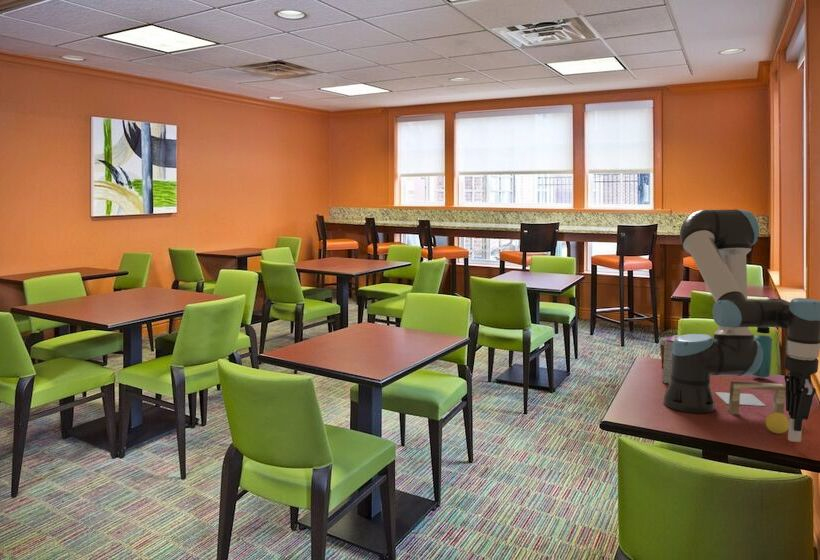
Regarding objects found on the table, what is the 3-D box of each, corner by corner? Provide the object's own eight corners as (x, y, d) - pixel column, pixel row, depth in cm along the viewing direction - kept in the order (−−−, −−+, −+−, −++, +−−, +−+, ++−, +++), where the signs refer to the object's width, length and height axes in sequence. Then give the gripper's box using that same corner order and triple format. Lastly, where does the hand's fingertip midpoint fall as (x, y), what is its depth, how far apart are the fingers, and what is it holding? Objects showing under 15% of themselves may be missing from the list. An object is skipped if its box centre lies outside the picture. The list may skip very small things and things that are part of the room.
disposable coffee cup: (653, 365, 247) (654, 336, 245) (675, 365, 248) (677, 336, 246) (665, 372, 238) (667, 342, 236) (688, 371, 239) (690, 341, 237)
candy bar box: (671, 376, 232) (674, 334, 230) (685, 378, 229) (688, 336, 227) (661, 382, 224) (663, 339, 222) (675, 385, 221) (678, 341, 219)
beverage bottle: (773, 381, 227) (777, 328, 224) (755, 381, 227) (759, 328, 224) (763, 376, 233) (767, 324, 230) (746, 375, 233) (750, 324, 230)
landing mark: (726, 404, 201) (726, 403, 201) (715, 392, 213) (715, 392, 213) (765, 406, 199) (765, 405, 199) (752, 394, 211) (752, 394, 211)
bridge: (783, 416, 190) (785, 386, 189) (731, 413, 192) (734, 384, 191) (779, 413, 193) (781, 383, 191) (728, 410, 195) (730, 381, 194)
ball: (769, 436, 175) (771, 416, 174) (761, 428, 180) (763, 408, 180) (792, 437, 174) (794, 417, 173) (783, 429, 179) (785, 410, 179)
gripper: (829, 363, 156) (820, 451, 159) (806, 351, 168) (798, 432, 172) (797, 362, 157) (789, 449, 160) (776, 349, 170) (769, 430, 173)
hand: (794, 440), depth 166 cm, fingers closed
